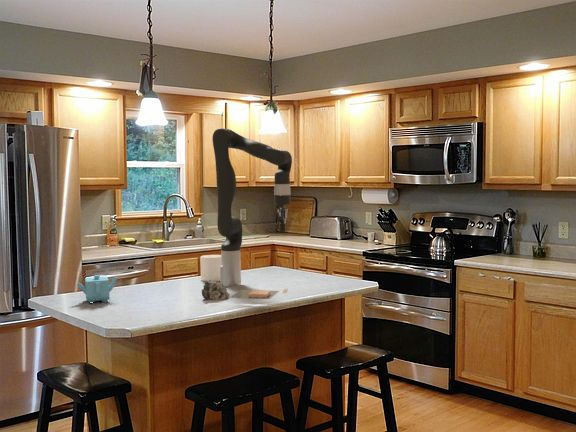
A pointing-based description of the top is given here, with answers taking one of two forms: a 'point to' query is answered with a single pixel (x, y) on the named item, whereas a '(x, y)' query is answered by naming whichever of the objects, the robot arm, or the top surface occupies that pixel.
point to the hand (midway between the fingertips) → (282, 231)
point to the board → (245, 292)
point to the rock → (214, 291)
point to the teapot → (97, 288)
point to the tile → (259, 294)
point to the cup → (210, 267)
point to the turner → (284, 290)
